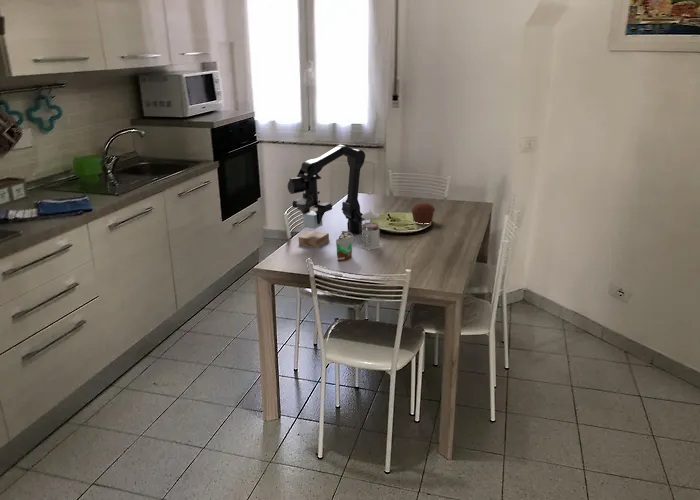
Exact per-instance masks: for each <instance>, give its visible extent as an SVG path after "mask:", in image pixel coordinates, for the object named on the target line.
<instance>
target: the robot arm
mask: <svg viewBox="0 0 700 500" xmlns="http://www.w3.org/2000/svg"><path fill="white" fill-rule="evenodd" d="M342 156H345V157H346V159H347V160H346V161H347V165H348V167H349V175H348V186H347V188H348V189H347V197H346V199H345V200H344V201H342V203H341V204H342V206H341V211H342V214H343V215H344V216H345V218H346V220H347V223H346V224H347V226H346V227H347V231H348V232H350V233H352V235H353V234H354V235H359V234H362V227H363V226H362V225H363V221H364V222H365V220H364V219H363V220H362V217H361V216H362V215H363V214H364V213H362V212H361V206H360V202H359V188H360V187H359V186H360V176H361V169H362V167H363V166H364V165H365V164H364V163H365V159H366V153H365V152H364V150H362V149H357V148H351V147H349V146H347V145H344V144H338V145H336V146H335V147H334V148H331V150H329V151H327V152H326V153H324V154H322V155H320V156H318V157H316V158H311V159H307V160H306V161H304V162H302V164H301V167H300V169H299V171H298V173H297V175H296V177H289V180H288V182H287V185H286V186H287V190H288V192H289V194H290V195H294V194H299V193H302V196H301V197H300V198H297V199H295V200H293V201H292V208H297V210H299V211H300V212H301V213H302V215H303V214H305V213H307V212H310V211H311V210H310V209H311V208H315V209H317V210H314V211H315V213H316V214H317V223H318V225H319V224H320V222H321V220H322V221H323V217H324V215H325V213H327V212H329V211H331V210H332V209H333V204H332V203H330V202H322V203H321V200H320V199H319V195H320V191H319V190H318V180H321V179H322V176H320V175H319V174H318V173H320V172H321V171H322V170H323V168H324V167H326V166H327V165H329V164H330V163H333V162H334V161H336V160H337V159H339V158H340V157H342Z"/></svg>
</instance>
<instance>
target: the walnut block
mask: <svg viewBox="0 0 700 500" xmlns="http://www.w3.org/2000/svg"><path fill="white" fill-rule="evenodd" d="M329 241H330V235H329V232H328V233H327V232H321V231H315V230H309V231H307V232H305V233H303V234H302V235H299V236H298V245H299V246H304V247H305V246H306V247H310V248H311V247H312V248H319V247H321V246H323V245H324V244H326V243H328V242H329Z"/></svg>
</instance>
